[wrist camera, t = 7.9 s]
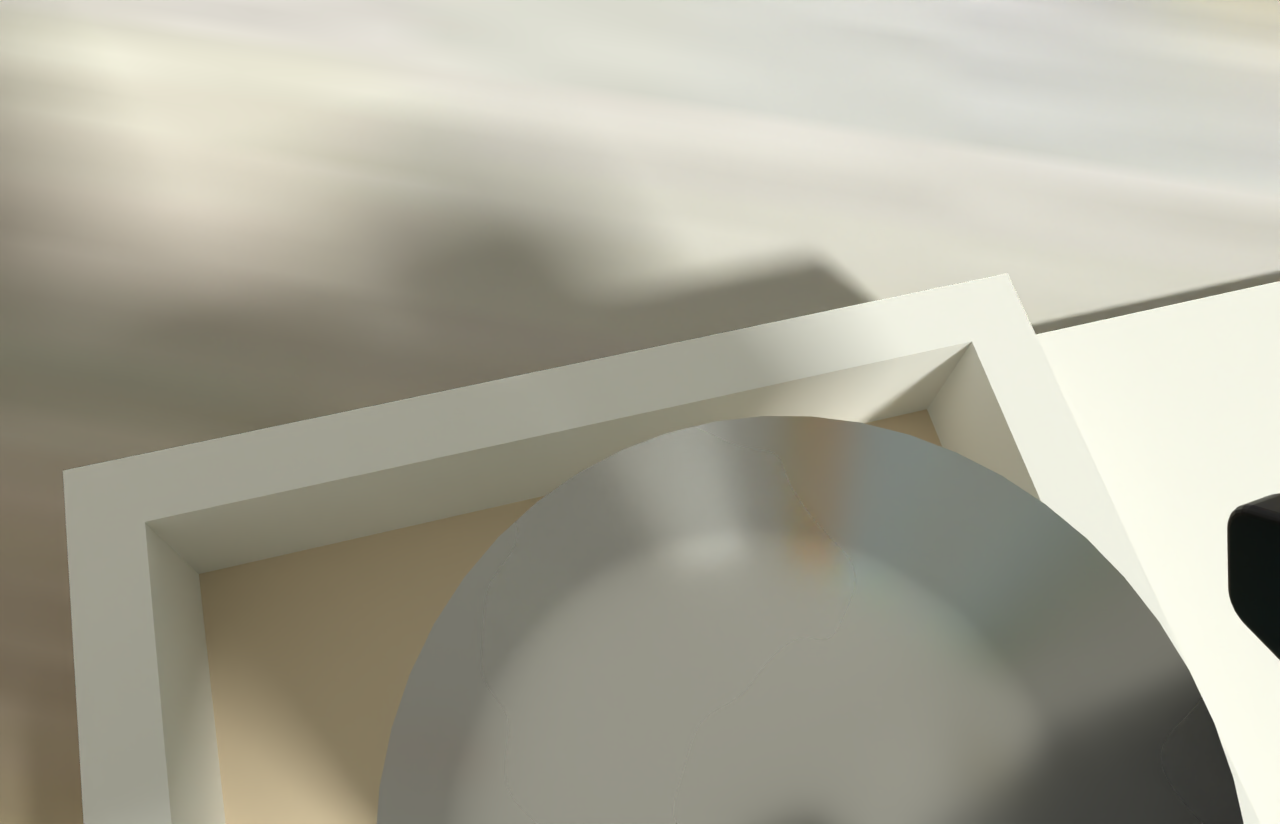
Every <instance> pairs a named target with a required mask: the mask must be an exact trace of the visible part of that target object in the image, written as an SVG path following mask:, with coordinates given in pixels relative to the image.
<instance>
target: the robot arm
mask: <svg viewBox="0 0 1280 824" xmlns="http://www.w3.org/2000/svg"><path fill="white" fill-rule="evenodd" d="M1227 558H1228V593H1229V598H1230V601H1231V604H1232V606H1233V608H1234V610H1235V612H1236V614H1237V615H1238V617H1239V618H1240V620H1241V621H1242V622H1243V623H1244V624H1245V625H1246V626H1247V627H1248V628H1249V629H1250V630H1251V631H1252V632H1253V633H1254V634H1255V635H1256V637H1257V638H1258V639H1259V640H1260V641H1261V642H1262V643H1263V644H1264V645H1265V646H1266V647H1267V648H1268V649H1269V650H1270V651H1271V652H1272V653H1273V654H1274V655H1275V656H1276V657H1277V658H1278V659H1279V660H1280V493H1277V494H1271V495H1268V496H1265V497H1263V498H1260V499H1257V500H1254V501H1251V502H1249V503H1246V504H1243V505H1240V506H1238V507H1237V508H1236V509H1235V510H1233V511H1232V513H1231V514H1230V517H1229V519H1228V523H1227Z"/></svg>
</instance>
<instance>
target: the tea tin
mask: <svg viewBox="0 0 1280 824" xmlns="http://www.w3.org/2000/svg"><path fill="white" fill-rule="evenodd" d="M377 824H1244V823H1243V818H1242V814H1241V809H1240V805H1239V800H1238V796H1237V791H1236V787H1235V782H1234V778H1233V775H1232V773H1231V770H1230V767H1229V764H1228V761H1227V758H1226V755H1225V752H1224V749H1223V747H1222V744H1221V741H1220V738H1219V735H1218V732H1217V729H1216V726H1215V724H1214V721H1213V719H1212V717H1211V715H1210V713H1209V711H1208V709H1207V707H1206V704H1205V702H1204V700H1203V698H1202V696H1201V694H1200V692H1199V690H1198V688H1197V686H1196V683H1195V681H1194V679H1193V677H1192V675H1191V673H1190V671H1189V669H1188V667H1187V666H1186V664H1185V663H1184V661H1183V659H1182V658H1181V656H1180V655H1179V653H1178V651H1177V650H1176V648H1175V646H1174V645H1173V643H1172V642H1171V640H1170V638H1169V637H1168V635H1167V634H1166V632H1165V630H1164V629H1163V627H1162V625H1161V624H1160V622H1159V621H1158V620H1157V618H1156V617H1155V616H1154V614H1153V613H1152V612H1151V611H1150V609H1149V608H1148V607H1147V605H1146V604H1145V603H1144V602H1143V600H1142V599H1141V598H1140V596H1139V595H1138V594H1137V593H1136V591H1135V590H1134V589H1133V588H1132V586H1131V585H1130V584H1129V582H1128V581H1127V580H1126V579H1125V577H1124V576H1123V575H1122V574H1121V573H1120V572H1119V571H1118V570H1117V569H1116V568H1115V567H1114V566H1113V565H1112V564H1111V563H1110V562H1109V561H1108V560H1107V559H1106V558H1105V557H1104V556H1103V555H1102V554H1101V553H1100V552H1099V551H1098V550H1097V548H1096V547H1095V546H1094V545H1093V544H1092V543H1091V542H1090V541H1089V540H1088V539H1087V538H1086V537H1084V536H1083V535H1082V534H1081V533H1080V532H1078V531H1077V530H1076V529H1075V528H1074V527H1072V526H1071V525H1070V524H1069V523H1067V522H1066V521H1065V520H1064V519H1063V518H1061V517H1060V516H1059V515H1058V514H1057V513H1055V512H1054V511H1053V510H1052V509H1051V508H1049V507H1048V506H1047V505H1046V504H1044V503H1043V502H1041V501H1040V500H1038V499H1037V498H1035V497H1034V496H1032V495H1031V494H1029V493H1028V492H1026V491H1024V490H1023V489H1021V488H1020V487H1018V486H1017V485H1015V484H1014V483H1012V482H1011V481H1009V480H1008V479H1006V478H1005V477H1003V476H1002V475H1000V474H998V473H996V472H994V471H992V470H990V469H988V468H986V467H984V466H982V465H980V464H978V463H976V462H974V461H972V460H970V459H968V458H966V457H964V456H962V455H960V454H958V453H956V452H954V451H951V450H949V449H946V448H943V447H941V446H938V445H935V444H933V443H930V442H927V441H925V440H922V439H919V438H917V437H914V436H911V435H908V434H904V433H900V432H896V431H892V430H888V429H884V428H880V427H876V426H872V425H868V424H864V423H860V422H852V421H844V420H836V419H828V418H821V417H813V416H758V417H750V418H741V419H732V420H723V421H714V422H710V423H706V424H702V425H698V426H694V427H690V428H685V429H681V430H677V431H673V432H669V433H666V434H663V435H660V436H658V437H655V438H652V439H650V440H647V441H644V442H642V443H639V444H636V445H634V446H631V447H629V448H626V449H623V450H621V451H619V452H617V453H615V454H613V455H611V456H609V457H608V458H606V459H604V460H602V461H600V462H598V463H596V464H594V465H592V466H591V467H589V468H587V469H585V470H583V471H581V472H579V473H577V474H576V475H575V476H573V477H572V478H570V479H569V480H567V481H566V482H565V483H563V484H562V485H560V486H559V487H558V488H556V489H555V490H553V491H552V492H550V493H549V494H548V495H546V496H545V497H543V498H542V499H540V500H539V501H538V502H536V503H535V504H534V505H533V506H532V507H531V508H530V509H529V510H527V511H526V512H525V513H524V514H523V515H522V516H521V517H520V518H519V519H518V520H517V521H515V522H514V523H513V524H512V525H511V526H510V527H509V528H508V529H507V530H506V531H505V532H503V533H502V534H501V535H500V536H499V537H498V538H497V539H496V540H495V542H494V543H493V544H492V545H491V546H490V548H489V549H488V550H487V551H486V552H485V553H484V555H483V556H482V557H481V558H480V559H479V561H478V562H477V563H476V564H475V565H474V566H473V568H472V569H471V570H470V571H469V572H468V573H467V575H466V576H465V577H464V578H463V580H462V581H461V583H460V585H459V586H458V588H457V589H456V591H455V592H454V594H453V595H452V597H451V598H450V600H449V601H448V603H447V605H446V606H445V608H444V609H443V611H442V612H441V614H440V615H439V617H438V618H437V620H436V621H435V623H434V625H433V627H432V629H431V631H430V633H429V635H428V637H427V639H426V642H425V644H424V646H423V648H422V650H421V652H420V654H419V656H418V658H417V660H416V662H415V664H414V666H413V668H412V670H411V673H410V675H409V678H408V681H407V684H406V687H405V690H404V693H403V696H402V699H401V702H400V705H399V708H398V711H397V714H396V717H395V719H394V722H393V725H392V728H391V733H390V738H389V743H388V748H387V753H386V758H385V763H384V767H383V772H382V777H381V782H380V787H379V800H378V813H377Z"/></svg>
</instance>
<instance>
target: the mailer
mask: <svg viewBox="0 0 1280 824" xmlns="http://www.w3.org/2000/svg"><path fill="white" fill-rule="evenodd" d="M758 416H813V417H821V418H828V419H836V420H844V421H852V422H860V423H864V424H868V425H872V426H876V427H880V428H884V429H888V430H892V431H896V432H900V433H904V434H908V435H911V436H914V437H917V438H919V439H922V440H925V441H927V442H930V443H933V444H935V445H938V446H941V447H943V448H946V449H949V450H951V451H954V452H956V453H958V454H960V455H962V456H964V457H966V458H968V459H970V460H972V461H974V462H976V463H978V464H980V465H982V466H984V467H986V468H988V469H990V470H992V471H994V472H996V473H998V474H1000V475H1002V476H1003V477H1005V478H1006V479H1008V480H1009V481H1011V482H1012V483H1014V484H1015V485H1017V486H1018V487H1020V488H1021V489H1023V490H1024V491H1026V492H1028V493H1029V494H1031V495H1032V496H1034V497H1035V498H1037V499H1038V500H1040V501H1041V502H1043V503H1044V504H1046V505H1047V506H1048V507H1049V508H1051V509H1052V510H1053V511H1054V512H1055V513H1057V514H1058V515H1059V516H1060V517H1061V518H1063V519H1064V520H1065V521H1066V522H1067V523H1069V524H1070V525H1071V526H1072V527H1074V528H1075V529H1076V530H1077V531H1078V532H1080V533H1081V534H1082V535H1083V536H1084V537H1086V538H1087V539H1088V540H1089V541H1090V542H1091V543H1092V544H1093V545H1094V546H1095V547H1096V548H1097V550H1098V551H1099V552H1100V553H1101V554H1102V555H1103V556H1104V557H1105V558H1106V559H1107V560H1108V561H1109V562H1110V563H1111V564H1112V565H1113V566H1114V567H1115V568H1116V569H1117V570H1118V571H1119V572H1120V573H1121V574H1122V575H1123V576H1124V577H1125V579H1126V580H1127V581H1128V582H1129V584H1130V585H1131V586H1132V588H1133V589H1134V590H1135V591H1136V593H1137V594H1138V595H1139V596H1140V598H1141V599H1142V600H1143V602H1144V603H1145V604H1146V605H1147V607H1148V608H1149V609H1150V611H1151V612H1152V613H1153V614H1154V616H1155V617H1156V618H1157V620H1158V621H1159V622H1160V624H1161V625H1162V627H1163V629H1164V630H1165V632H1166V634H1167V635H1168V637H1169V638H1170V640H1171V642H1172V643H1173V645H1174V646H1175V648H1176V650H1177V651H1178V653H1179V655H1180V656H1181V658H1182V659H1183V661H1184V663H1185V664H1186V666H1187V667H1188V669H1189V671H1190V673H1191V675H1192V677H1193V679H1194V681H1195V683H1196V686H1197V688H1198V690H1199V692H1200V694H1201V696H1202V698H1203V700H1204V702H1205V704H1206V707H1207V709H1208V711H1209V713H1210V715H1211V717H1212V719H1213V721H1214V724H1215V726H1216V729H1217V732H1218V735H1219V738H1220V741H1221V744H1222V747H1223V749H1224V752H1225V755H1226V758H1227V761H1228V764H1229V767H1230V770H1231V773H1232V775H1233V778H1234V782H1235V787H1236V791H1237V796H1238V800H1239V805H1240V809H1241V814H1242V818H1243V823H1244V824H1280V660H1279V659H1278V658H1277V657H1276V656H1275V655H1274V654H1273V653H1272V652H1271V651H1270V650H1269V649H1268V648H1267V647H1266V646H1265V645H1264V644H1263V643H1262V642H1261V641H1260V640H1259V639H1258V638H1257V637H1256V635H1255V634H1254V633H1253V632H1252V631H1251V630H1250V629H1249V628H1248V627H1247V626H1246V625H1245V624H1244V623H1243V622H1242V621H1241V620H1240V618H1239V617H1238V615H1237V614H1236V612H1235V610H1234V608H1233V606H1232V604H1231V601H1230V598H1229V593H1228V558H1227V523H1228V519H1229V517H1230V514H1231V513H1232V511H1233V510H1235V509H1236V508H1237V507H1238V506H1240V505H1243V504H1246V503H1249V502H1251V501H1254V500H1257V499H1260V498H1263V497H1265V496H1268V495H1271V494H1277V493H1280V281H1278V282H1273V283H1268V284H1264V285H1259V286H1255V287H1250V288H1246V289H1241V290H1237V291H1232V292H1227V293H1223V294H1218V295H1214V296H1209V297H1205V298H1200V299H1195V300H1191V301H1186V302H1182V303H1177V304H1173V305H1168V306H1163V307H1159V308H1154V309H1150V310H1145V311H1141V312H1136V313H1132V314H1127V315H1122V316H1118V317H1113V318H1109V319H1104V320H1100V321H1095V322H1090V323H1086V324H1081V325H1077V326H1072V327H1068V328H1063V329H1058V330H1054V331H1049V332H1045V333H1040V334H1035V332H1034V329H1033V327H1032V325H1031V323H1030V321H1029V319H1028V316H1027V314H1026V312H1025V310H1024V308H1023V306H1022V303H1021V301H1020V299H1019V297H1018V295H1017V292H1016V290H1015V288H1014V286H1013V284H1012V282H1011V279H1010V277H1009V275H1008V273H1005V274H1000V275H995V276H991V277H986V278H981V279H976V280H972V281H967V282H962V283H957V284H952V285H948V286H943V287H938V288H933V289H929V290H924V291H919V292H914V293H909V294H905V295H900V296H895V297H890V298H885V299H881V300H876V301H871V302H866V303H862V304H857V305H852V306H847V307H842V308H838V309H833V310H828V311H823V312H819V313H814V314H809V315H804V316H799V317H795V318H790V319H785V320H780V321H775V322H771V323H766V324H761V325H756V326H752V327H747V328H742V329H737V330H732V331H728V332H723V333H718V334H713V335H709V336H704V337H699V338H694V339H689V340H685V341H680V342H675V343H670V344H665V345H661V346H656V347H651V348H646V349H642V350H637V351H632V352H627V353H622V354H618V355H613V356H608V357H603V358H599V359H594V360H589V361H584V362H579V363H575V364H570V365H565V366H560V367H555V368H551V369H546V370H541V371H536V372H532V373H527V374H522V375H517V376H512V377H508V378H503V379H498V380H493V381H489V382H484V383H479V384H474V385H469V386H465V387H460V388H455V389H450V390H445V391H441V392H436V393H431V394H426V395H422V396H417V397H412V398H407V399H402V400H398V401H393V402H388V403H383V404H379V405H374V406H369V407H364V408H359V409H355V410H350V411H345V412H340V413H335V414H331V415H326V416H321V417H316V418H312V419H307V420H302V421H297V422H292V423H288V424H283V425H278V426H273V427H269V428H264V429H259V430H254V431H249V432H245V433H240V434H235V435H230V436H225V437H221V438H216V439H211V440H206V441H202V442H197V443H192V444H187V445H182V446H178V447H173V448H168V449H163V450H159V451H154V452H149V453H144V454H139V455H135V456H130V457H125V458H120V459H116V460H111V461H106V462H101V463H96V464H92V465H87V466H82V467H77V468H72V469H68V470H63V483H64V500H65V517H66V534H67V551H68V568H69V585H70V602H71V619H72V636H73V653H74V670H75V687H76V704H77V721H78V738H79V755H80V772H81V789H82V806H83V823H84V824H377V813H378V800H379V787H380V782H381V777H382V772H383V767H384V763H385V758H386V753H387V748H388V743H389V738H390V733H391V728H392V725H393V722H394V719H395V717H396V714H397V711H398V708H399V705H400V702H401V699H402V696H403V693H404V690H405V687H406V684H407V681H408V678H409V675H410V673H411V670H412V668H413V666H414V664H415V662H416V660H417V658H418V656H419V654H420V652H421V650H422V648H423V646H424V644H425V642H426V639H427V637H428V635H429V633H430V631H431V629H432V627H433V625H434V623H435V621H436V620H437V618H438V617H439V615H440V614H441V612H442V611H443V609H444V608H445V606H446V605H447V603H448V601H449V600H450V598H451V597H452V595H453V594H454V592H455V591H456V589H457V588H458V586H459V585H460V583H461V581H462V580H463V578H464V577H465V576H466V575H467V573H468V572H469V571H470V570H471V569H472V568H473V566H474V565H475V564H476V563H477V562H478V561H479V559H480V558H481V557H482V556H483V555H484V553H485V552H486V551H487V550H488V549H489V548H490V546H491V545H492V544H493V543H494V542H495V540H496V539H497V538H498V537H499V536H500V535H501V534H502V533H503V532H505V531H506V530H507V529H508V528H509V527H510V526H511V525H512V524H513V523H514V522H515V521H517V520H518V519H519V518H520V517H521V516H522V515H523V514H524V513H525V512H526V511H527V510H529V509H530V508H531V507H532V506H533V505H534V504H535V503H536V502H538V501H539V500H540V499H542V498H543V497H545V496H546V495H548V494H549V493H550V492H552V491H553V490H555V489H556V488H558V487H559V486H560V485H562V484H563V483H565V482H566V481H567V480H569V479H570V478H572V477H573V476H575V475H576V474H577V473H579V472H581V471H583V470H585V469H587V468H589V467H591V466H592V465H594V464H596V463H598V462H600V461H602V460H604V459H606V458H608V457H609V456H611V455H613V454H615V453H617V452H619V451H621V450H623V449H626V448H629V447H631V446H634V445H636V444H639V443H642V442H644V441H647V440H650V439H652V438H655V437H658V436H660V435H663V434H666V433H669V432H673V431H677V430H681V429H685V428H690V427H694V426H698V425H702V424H706V423H710V422H714V421H723V420H732V419H741V418H750V417H758Z"/></svg>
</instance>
